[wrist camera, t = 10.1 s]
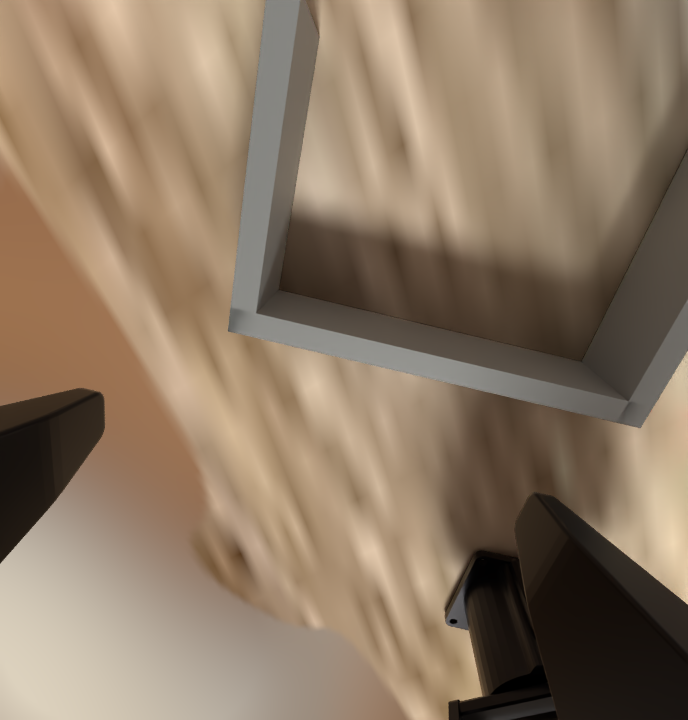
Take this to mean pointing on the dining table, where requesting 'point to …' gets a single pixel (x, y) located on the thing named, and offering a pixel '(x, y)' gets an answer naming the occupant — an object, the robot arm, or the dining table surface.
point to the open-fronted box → (427, 343)
